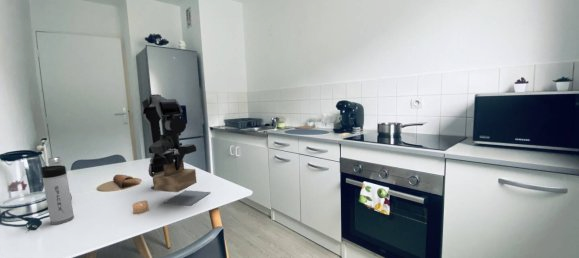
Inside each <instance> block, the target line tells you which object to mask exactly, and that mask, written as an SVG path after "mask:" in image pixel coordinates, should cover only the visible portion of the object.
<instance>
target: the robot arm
mask: <svg viewBox="0 0 579 258" xmlns="http://www.w3.org/2000/svg"><path fill="white" fill-rule="evenodd" d="M140 111H141V115H143V119H144V120H145V121H146V122H147V123H148V128H149V130H148V131H149V135H150V136H149V137H150V144H151V145H149V147H148V153H149V154H152V155H151V157H150V159H149V165H148V175H149V176H150V177H151V178H153V176H154V175H157V174H160V173H162V172H164V165H166V164H169V163H172V162H175V168H176V170H179V168H180V165H181V162H182V160H183V159H184V157H185V155H188V154H192V153H196V152H197V146H196V145H195V144H193V143H192V144H191V143H188V144H183V142H180V136H182V133H183V132H184V131H185V130H186V128H187V123H186V121H185V120H184V119H183V118H181V117H183V116H184V115H183V113H184V112H183V109H182V107H181V105H180V103H179V102H178V101H177V99H175V98H169V99H168V98H166V97H164V96H162V95H161V94H148V95H147V97H146V99H144V100H143V101H142V103H141V107H140ZM160 122H161V124H160ZM161 131H162V133H161ZM183 161H184V160H183ZM152 183H153V185H152V186H151V187H150V189H154V181H153V180H152Z"/></svg>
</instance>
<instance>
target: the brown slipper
mask: <svg viewBox="0 0 579 258" xmlns="http://www.w3.org/2000/svg"><path fill="white" fill-rule="evenodd" d="M112 180H113V182H114V183H116V184H117V185H119V187H121V188H122V189H127V188H131V187H134V186H138V185H141V183H140V182H139V181H138V180H136V179H135V178H133V176H131V175H127V174H115V175H114V176H113V178H112Z"/></svg>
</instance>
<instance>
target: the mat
mask: <svg viewBox="0 0 579 258" xmlns="http://www.w3.org/2000/svg"><path fill="white" fill-rule="evenodd" d="M210 194H211V191H201V190H200V191H199V190H185V189H184V191H183V190H182V191H181V192H180V193H178V194H176V195H174V196H173V197H170V198H169V199H167V200H165V201H163V204H169V205H178V206H179V205H180V206H190V207H191V206H193V205H194V204H196V203H197V202H199V201H201V200H203V199H204V198H205V197H207V196H208V195H210Z"/></svg>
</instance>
